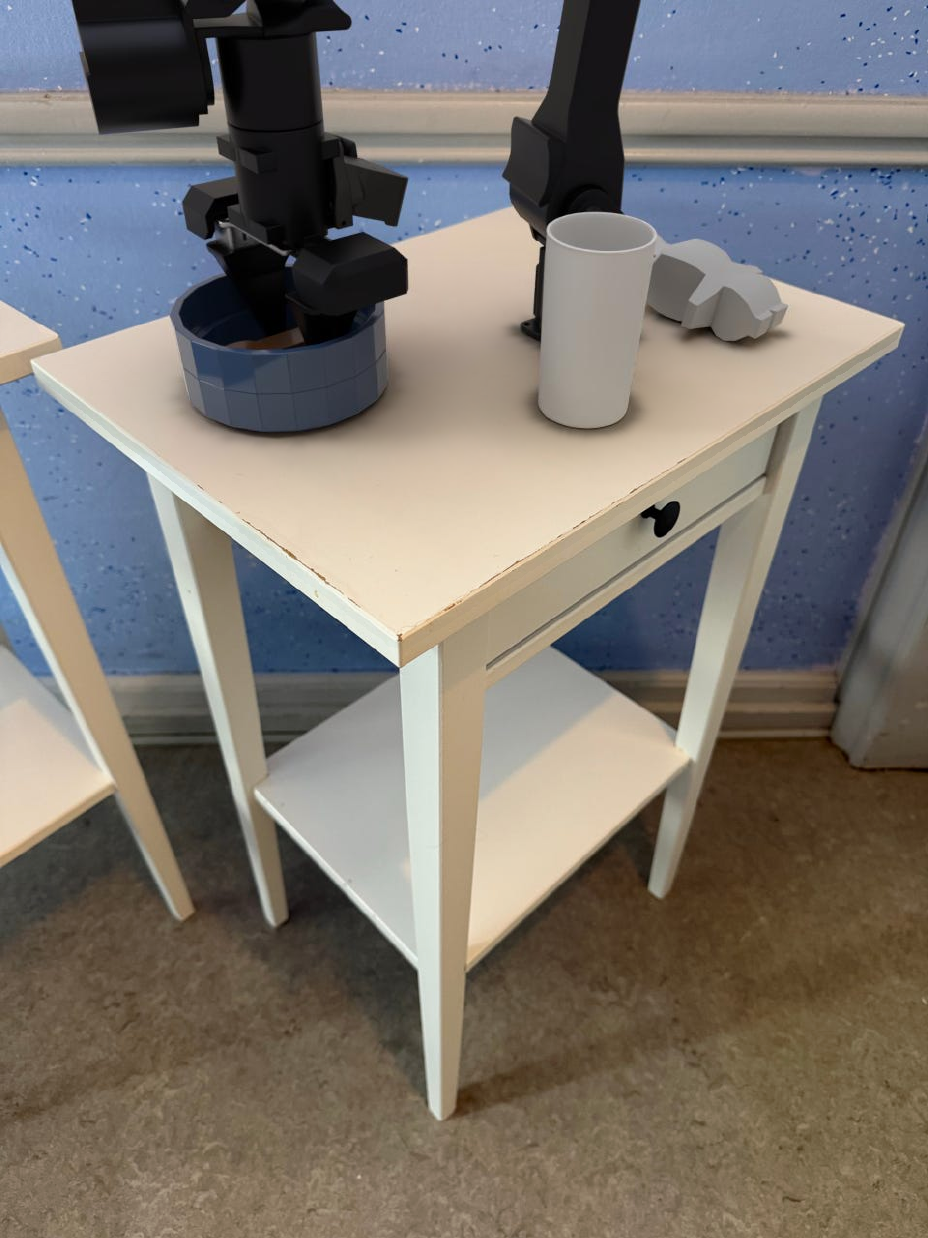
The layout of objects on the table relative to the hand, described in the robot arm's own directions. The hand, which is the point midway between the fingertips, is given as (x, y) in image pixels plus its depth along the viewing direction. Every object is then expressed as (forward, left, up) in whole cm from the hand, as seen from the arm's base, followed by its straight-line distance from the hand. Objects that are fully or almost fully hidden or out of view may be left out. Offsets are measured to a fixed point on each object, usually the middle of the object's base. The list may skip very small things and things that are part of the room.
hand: (303, 360), depth 65 cm
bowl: (0, +1, -2) cm, 2 cm away
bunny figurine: (-10, -31, -2) cm, 32 cm away
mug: (-15, -15, -2) cm, 21 cm away
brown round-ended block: (0, +1, -1) cm, 2 cm away
